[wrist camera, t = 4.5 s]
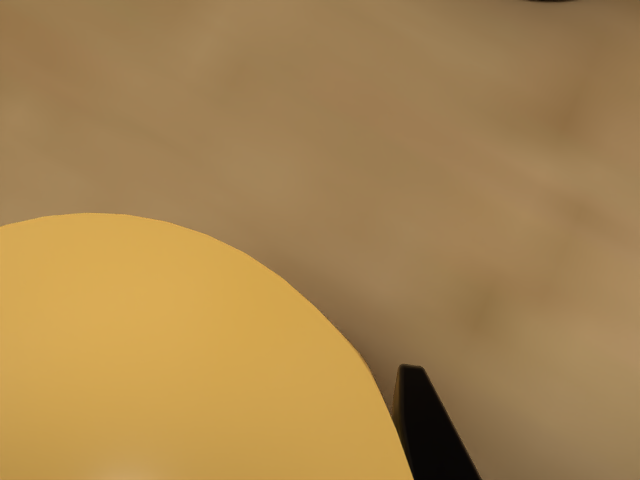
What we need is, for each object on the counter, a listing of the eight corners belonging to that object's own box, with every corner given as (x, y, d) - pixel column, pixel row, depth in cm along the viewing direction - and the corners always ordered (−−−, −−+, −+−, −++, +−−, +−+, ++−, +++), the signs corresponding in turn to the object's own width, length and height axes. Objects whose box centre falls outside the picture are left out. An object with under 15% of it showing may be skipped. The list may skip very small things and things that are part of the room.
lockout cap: (392, 488, 15) (506, 1046, 3) (219, 509, 15) (-360, 1100, 3) (366, 311, 16) (366, 167, 4) (205, 334, 16) (-256, 262, 4)
